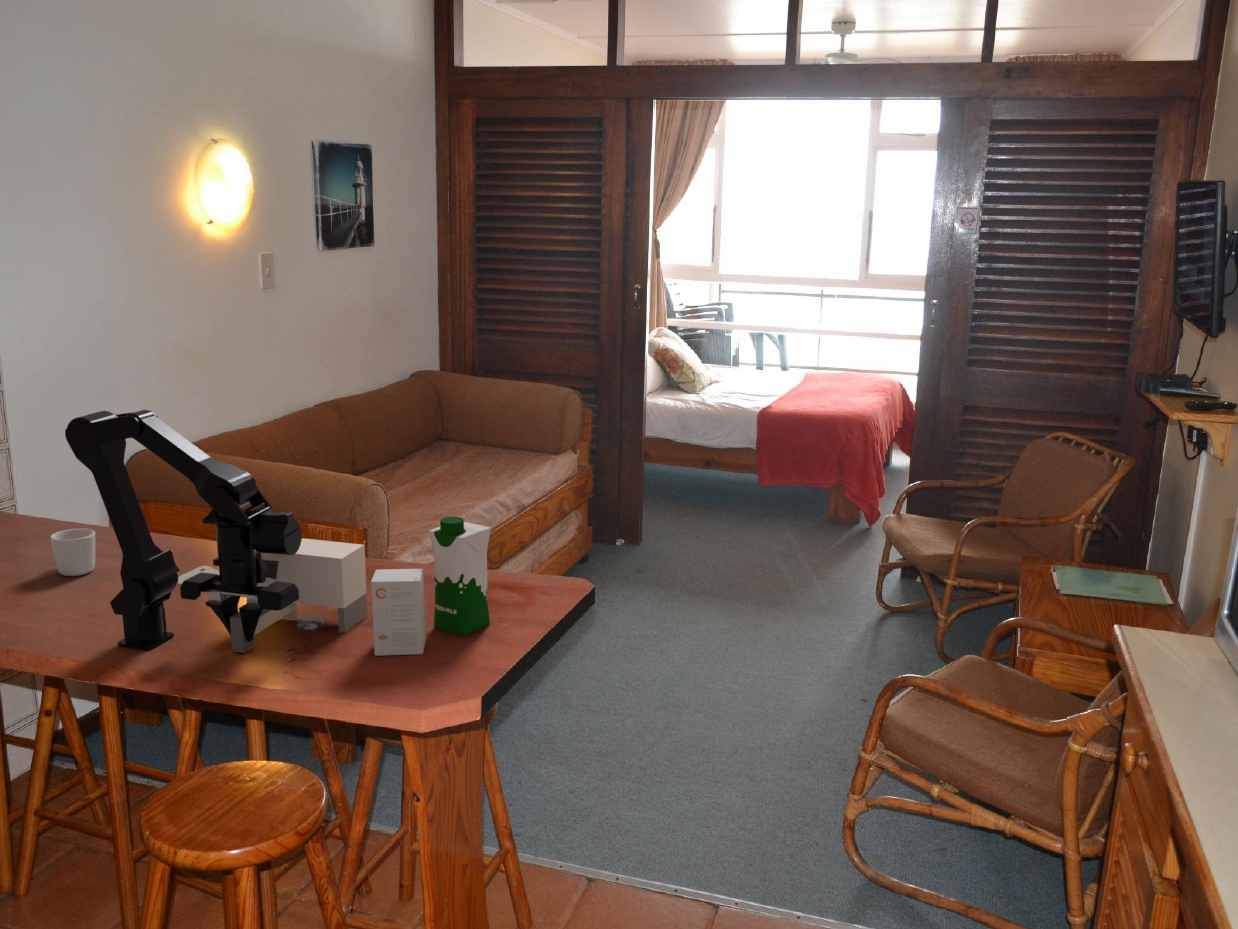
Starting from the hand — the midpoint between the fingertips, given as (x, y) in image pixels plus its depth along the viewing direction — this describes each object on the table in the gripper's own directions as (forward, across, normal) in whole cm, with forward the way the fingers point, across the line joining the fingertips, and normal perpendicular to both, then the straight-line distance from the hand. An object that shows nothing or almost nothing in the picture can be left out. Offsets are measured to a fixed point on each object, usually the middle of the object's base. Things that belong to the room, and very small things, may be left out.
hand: (243, 640), depth 175 cm
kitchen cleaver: (+3, +18, -25) cm, 31 cm away
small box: (+2, -24, -9) cm, 26 cm away
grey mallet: (+2, 0, -6) cm, 7 cm away
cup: (+2, +55, -24) cm, 60 cm away
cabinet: (+2, -3, -16) cm, 16 cm away
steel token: (+2, -5, -12) cm, 13 cm away
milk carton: (+2, -30, -21) cm, 37 cm away
